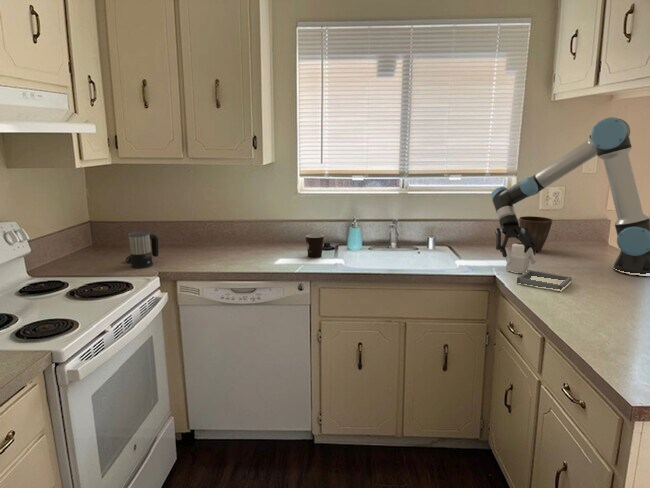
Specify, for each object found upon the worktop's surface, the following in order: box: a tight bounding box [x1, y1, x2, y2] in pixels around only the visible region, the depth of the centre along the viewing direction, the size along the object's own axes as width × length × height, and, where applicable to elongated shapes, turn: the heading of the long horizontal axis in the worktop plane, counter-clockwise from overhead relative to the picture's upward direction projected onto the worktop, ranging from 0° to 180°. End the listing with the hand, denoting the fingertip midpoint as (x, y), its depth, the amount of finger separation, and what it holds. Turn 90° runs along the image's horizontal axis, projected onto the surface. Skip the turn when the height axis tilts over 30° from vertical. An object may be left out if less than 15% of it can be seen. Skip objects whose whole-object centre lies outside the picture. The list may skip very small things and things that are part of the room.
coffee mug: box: [305, 233, 325, 259], centre depth 232 cm, size 12×9×10 cm
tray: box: [516, 269, 573, 290], centre depth 188 cm, size 16×14×2 cm
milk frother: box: [125, 230, 159, 269], centre depth 218 cm, size 14×16×15 cm
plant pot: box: [518, 215, 553, 252], centre depth 240 cm, size 15×15×16 cm
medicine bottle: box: [505, 242, 530, 274], centre depth 204 cm, size 7×7×12 cm
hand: (521, 262), depth 202 cm, fingers closed on medicine bottle, 10 cm apart
